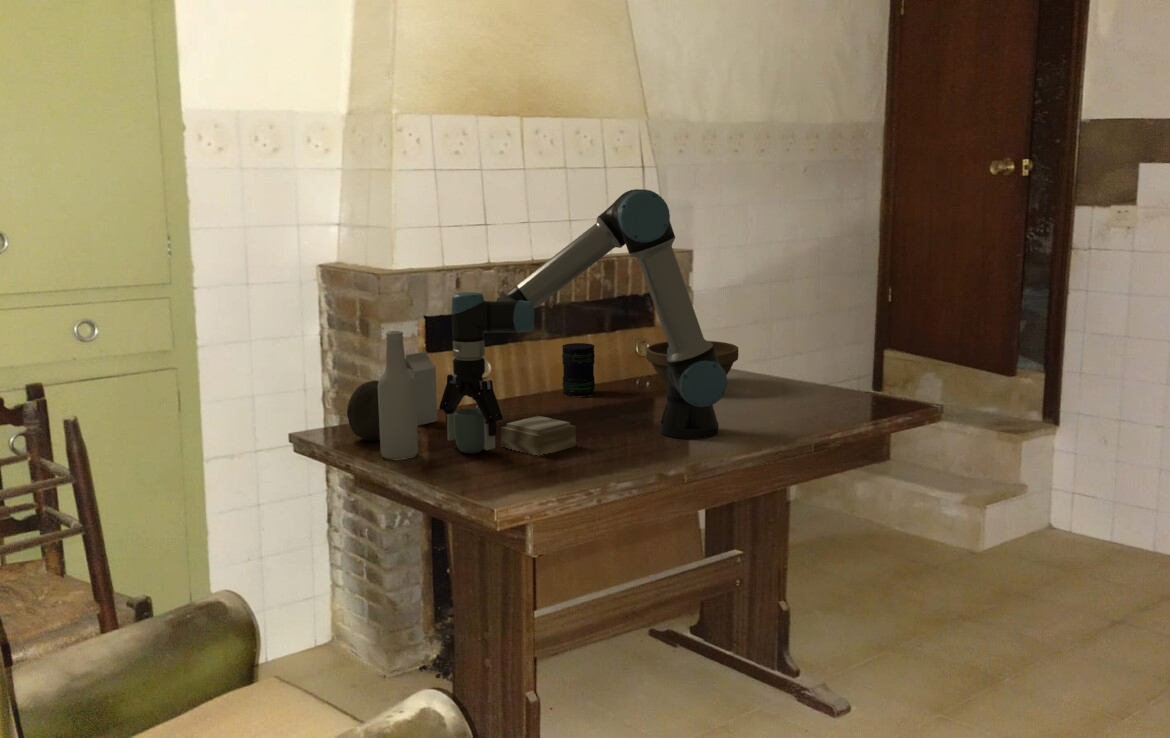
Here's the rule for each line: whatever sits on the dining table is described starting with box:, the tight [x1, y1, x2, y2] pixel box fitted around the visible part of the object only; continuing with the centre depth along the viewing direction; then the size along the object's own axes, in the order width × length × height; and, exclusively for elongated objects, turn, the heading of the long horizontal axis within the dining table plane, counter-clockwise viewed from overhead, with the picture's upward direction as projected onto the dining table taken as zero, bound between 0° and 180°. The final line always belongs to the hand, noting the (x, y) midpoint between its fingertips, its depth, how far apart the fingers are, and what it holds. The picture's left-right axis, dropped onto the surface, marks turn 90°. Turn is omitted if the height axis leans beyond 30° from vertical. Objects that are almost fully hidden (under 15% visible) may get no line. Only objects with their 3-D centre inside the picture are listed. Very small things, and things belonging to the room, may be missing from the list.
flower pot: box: [645, 340, 739, 385], centre depth 326 cm, size 28×28×13 cm
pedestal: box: [500, 415, 577, 457], centre depth 259 cm, size 13×13×6 cm
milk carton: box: [405, 351, 438, 427], centre depth 284 cm, size 7×7×19 cm
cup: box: [453, 407, 486, 455], centre depth 254 cm, size 8×8×10 cm
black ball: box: [346, 380, 380, 442], centre depth 266 cm, size 14×14×15 cm
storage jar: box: [561, 342, 596, 397], centre depth 319 cm, size 10×10×15 cm
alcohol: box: [378, 330, 419, 459], centre depth 249 cm, size 9×9×30 cm
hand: (471, 444), depth 255 cm, fingers open, 13 cm apart
